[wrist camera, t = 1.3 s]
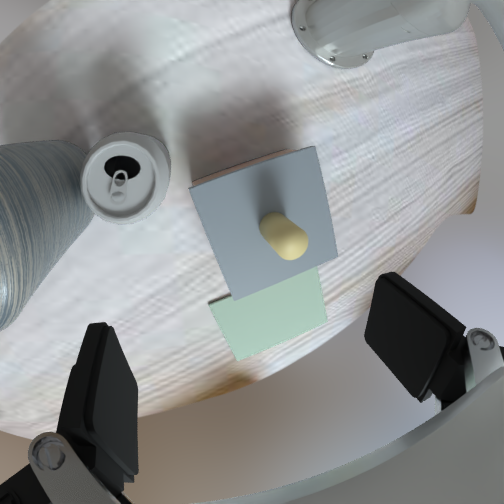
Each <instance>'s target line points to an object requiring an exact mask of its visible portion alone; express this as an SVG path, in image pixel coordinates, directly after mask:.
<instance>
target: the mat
mask: <svg viewBox="0 0 504 504" xmlns="http://www.w3.org/2000/svg"><path fill="white" fill-rule="evenodd" d="M209 307H210V309H211V311H212V313H213V315H214V317H215V319H216V321H217V323H218V325H219V327H220V329H221V331H222V333H223V335H224V337H225V339H226V340H227V342H228V344H229V346H230V348H231V350H232V352H233V354H234V356H235V358H236V359H237V361H239V360H242V359H244V358H247V357H249V356H252V355H254V354H257V353H259V352H261V351H264V350H266V349H269V348H271V347H273V346H276V345H278V344H280V343H282V342H285V341H287V340H289V339H291V338H294V337H296V336H298V335H300V334H302V333H305V332H307V331H309V330H311V329H313V328H315V327H317V326H319V325H321V324H324V323H326V322H327V316H326V310H325V305H324V300H323V295H322V289H321V284H320V279H319V274H318V270H317V266H316V267H314V268H312V269H309V270H307V271H305V272H302V273H300V274H298V275H296V276H293V277H291V278H289V279H286V280H284V281H282V282H279V283H277V284H275V285H272V286H270V287H267V288H265V289H263V290H260V291H258V292H256V293H253V294H251V295H248V296H246V297H243V298H241V299H239V300H236V301H234V300H233V297H232V295H230V296H227V297H225V298H222V299H220V300H218V301H215V302H213V303H210V304H209Z"/></svg>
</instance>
